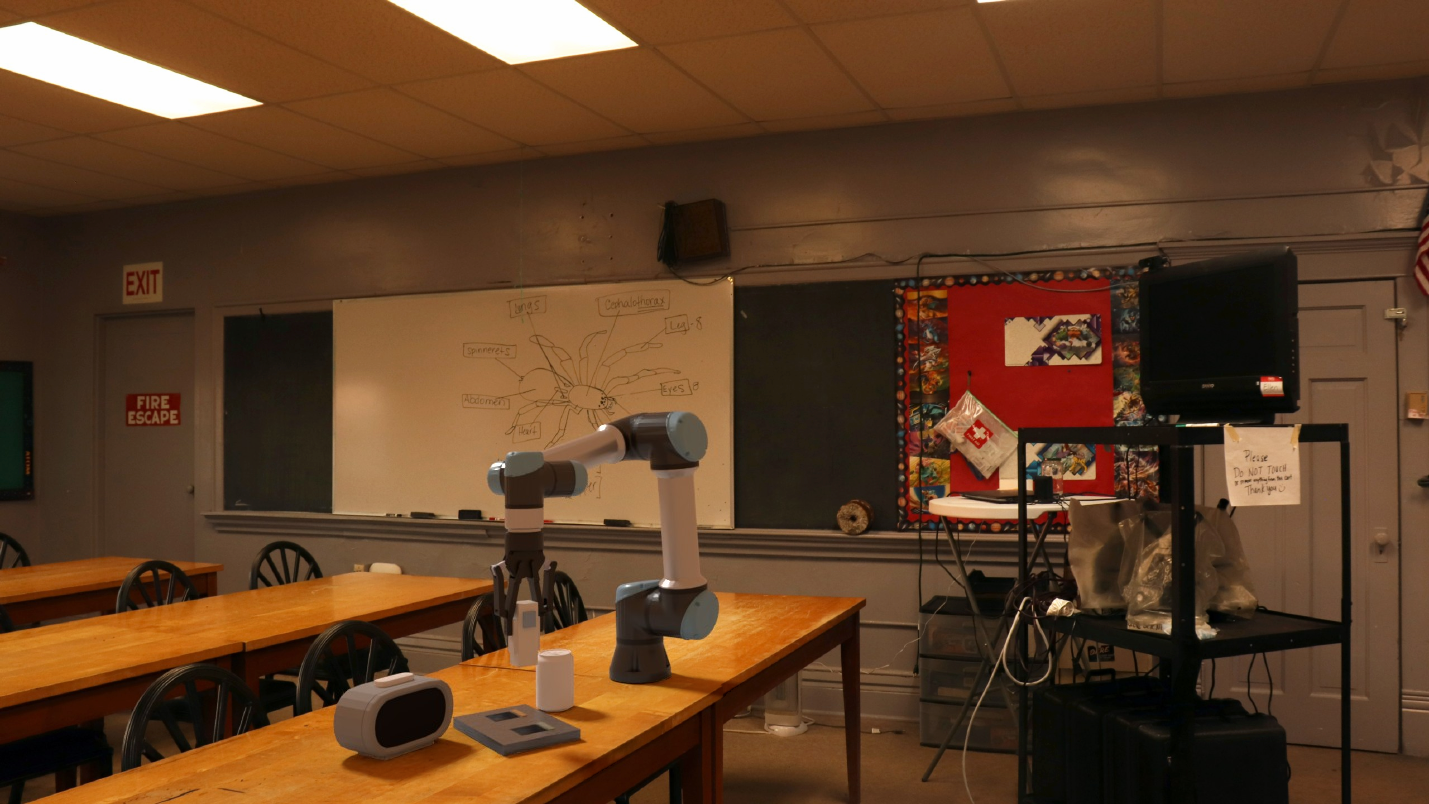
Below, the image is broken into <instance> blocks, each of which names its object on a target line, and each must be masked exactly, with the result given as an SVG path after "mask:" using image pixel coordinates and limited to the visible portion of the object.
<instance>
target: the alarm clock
mask: <svg viewBox="0 0 1429 804" xmlns="http://www.w3.org/2000/svg"><path fill="white" fill-rule="evenodd" d="M453 714H454V694H453V692H452V688H451V687H450V685H449V684H448V683H447V682H446V681H444V680H442V679H440V678H435V677H429V676H421V675H415V674H414V673H412V672H401V673H396V674H392V675H388V676H385V677H380V678H377V679H374V681H370V682H366V683H361V684H359V685H356V686H354V687H352V688H349V689H347V691H345V692H344V694H342V695H341V697H339V700H338V702H337V704H336V706H335V709H334V714H333V715H334V716H333V733H334V737H335V739H336V742H337V743H338V745H339V746H340V747H341V748H344V749H346V750H349V751H353V752H357V755H360V756H364V757H367V758H368V757H369V758H372V759H376V760H380V761H385V762H386V761H387V760H391V759H394V758H397V757H400V756H402V755H406V754H407V753H411V752H414V751H417V750H420V749H423V748H426V747H429V746H431V745H434V741H435V740H438V739H440V738H442V737H443V735H444V734H445V733H446V732H447V731H448V729H449V727H450V725H451V723H452V720H453Z"/></svg>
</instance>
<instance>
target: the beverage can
mask: <svg viewBox="0 0 1429 804" xmlns="http://www.w3.org/2000/svg"><path fill="white" fill-rule="evenodd" d="M574 662H575V659H574V655H573V654H572V651H571V650H569V649H565V648H552V649H551V648H550V649H543V650H539V651H538V665H535V706H536V709H537V710H540V711H542V712H545V713H546V712H547V713H558V712H563V711H567V710H569V709H570V708H572V707H574V706H575V668H574V667H575V663H574Z"/></svg>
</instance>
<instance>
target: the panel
mask: <svg viewBox="0 0 1429 804" xmlns="http://www.w3.org/2000/svg"><path fill="white" fill-rule="evenodd" d="M452 720H453V721H452V727H453V728H454V729H456V730H457V731H459V732H461V733H463V734H464V735H465V736H468V737H470V738H471V739H473V740H475V741H477V742H478V743H480V744H482V745H484V746H486V747H487V748H488V749H490V750H492V751H494V752H495V753H497V754H499V755H500V756H503V757H507V756H511V755H516V754H521V753H525V752H530V751H534V750H540V749H543V748H548V747H553V746H557V745H563V744H568V743H572V742H576V741H581V736H582V735H581V733H582V731H581V728H579V727H576V726H574V725H572V724H569V723H568V722H566V721H563V720H561V719H559V718H557V717H555V716H553V715H550V714H548V713H546V712H545V711H542V710H541V709H538V708H535V707H533V706H530V705H529V704H526V703H523V704H519V705H513V706H508V707H501V708H496V709H490V710H485V711H480V712H474V713H468V714H462V715H457V716H452Z"/></svg>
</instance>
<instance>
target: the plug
mask: <svg viewBox="0 0 1429 804" xmlns="http://www.w3.org/2000/svg"><path fill="white" fill-rule="evenodd" d="M514 618H515V619H518V620H517V653H516V654H513V653H511V652H509V655H510V656H509V664H510V665H512V666H514V667H517V668H525V667H531V666H536V665H538V653H539V650H538V602H534V601H532V599H527V600H517V602H516V608H515V613H514Z"/></svg>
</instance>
